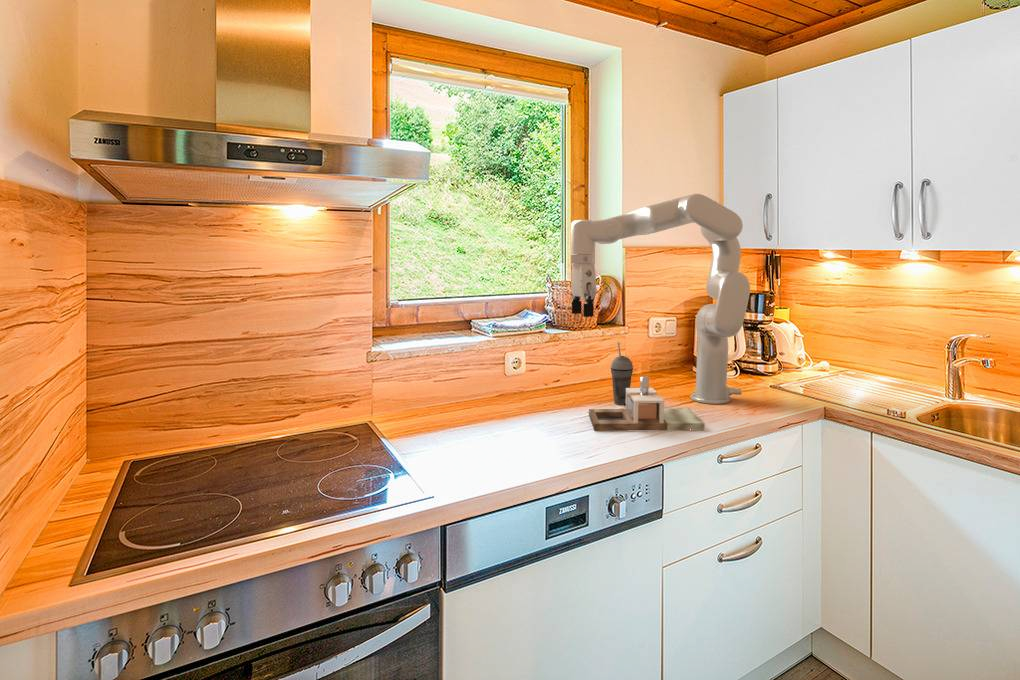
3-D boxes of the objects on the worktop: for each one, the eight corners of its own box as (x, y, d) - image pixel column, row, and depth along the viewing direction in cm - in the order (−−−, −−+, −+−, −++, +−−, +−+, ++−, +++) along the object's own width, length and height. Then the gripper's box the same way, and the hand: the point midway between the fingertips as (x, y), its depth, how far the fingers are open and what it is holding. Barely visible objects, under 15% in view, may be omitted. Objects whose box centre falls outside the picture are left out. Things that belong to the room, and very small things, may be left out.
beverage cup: (630, 407, 177) (632, 344, 174) (608, 405, 179) (608, 343, 176) (634, 401, 184) (635, 341, 180) (611, 399, 186) (612, 340, 183)
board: (688, 415, 167) (689, 408, 167) (703, 430, 153) (704, 423, 153) (588, 415, 168) (588, 409, 168) (594, 430, 154) (594, 423, 154)
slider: (655, 411, 164) (656, 374, 162) (660, 418, 157) (662, 379, 155) (627, 411, 164) (627, 374, 162) (631, 418, 157) (632, 379, 155)
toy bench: (652, 408, 167) (652, 387, 166) (663, 423, 153) (664, 400, 152) (625, 409, 168) (625, 387, 167) (634, 423, 153) (634, 400, 152)
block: (652, 413, 163) (652, 399, 162) (656, 418, 157) (656, 404, 157) (631, 413, 163) (631, 399, 162) (635, 418, 158) (635, 405, 157)
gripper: (605, 260, 166) (604, 317, 169) (583, 260, 183) (582, 311, 185) (582, 261, 164) (581, 318, 167) (561, 260, 181) (561, 312, 183)
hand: (582, 315), depth 176 cm, fingers open, 9 cm apart
